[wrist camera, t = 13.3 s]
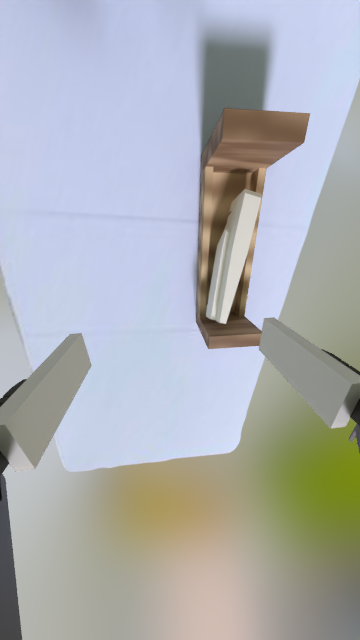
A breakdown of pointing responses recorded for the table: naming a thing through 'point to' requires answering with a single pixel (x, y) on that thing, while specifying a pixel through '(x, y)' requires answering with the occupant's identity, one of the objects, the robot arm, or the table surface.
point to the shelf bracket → (232, 254)
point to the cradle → (222, 188)
